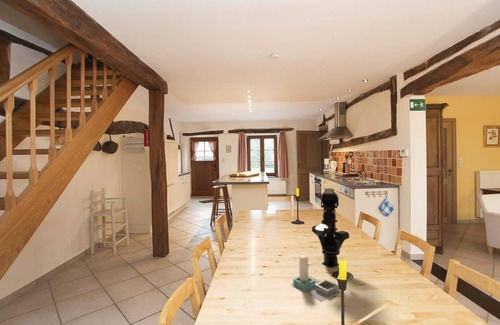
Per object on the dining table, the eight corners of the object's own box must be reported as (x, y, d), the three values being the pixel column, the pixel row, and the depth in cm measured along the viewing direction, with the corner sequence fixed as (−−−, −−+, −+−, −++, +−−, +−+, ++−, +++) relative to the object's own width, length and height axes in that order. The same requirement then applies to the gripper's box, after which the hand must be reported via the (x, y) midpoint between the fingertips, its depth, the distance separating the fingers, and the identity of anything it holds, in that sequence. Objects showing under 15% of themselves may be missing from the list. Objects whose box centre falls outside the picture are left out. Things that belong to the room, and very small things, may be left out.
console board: (290, 286, 121) (290, 284, 121) (310, 277, 129) (310, 276, 129) (321, 303, 107) (321, 301, 107) (341, 293, 114) (341, 291, 114)
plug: (297, 284, 121) (297, 256, 121) (304, 282, 123) (303, 254, 123) (304, 288, 118) (303, 259, 117) (310, 285, 120) (309, 257, 120)
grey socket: (315, 290, 116) (315, 284, 116) (325, 285, 120) (325, 279, 120) (327, 296, 110) (327, 290, 110) (338, 291, 114) (338, 285, 114)
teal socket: (293, 284, 121) (293, 278, 121) (304, 279, 125) (303, 274, 125) (304, 290, 116) (304, 284, 116) (315, 285, 120) (315, 280, 119)
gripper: (304, 217, 134) (304, 247, 134) (334, 224, 118) (335, 258, 119) (319, 213, 140) (319, 242, 141) (349, 220, 125) (350, 253, 125)
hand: (330, 249), depth 131 cm, fingers open, 9 cm apart
